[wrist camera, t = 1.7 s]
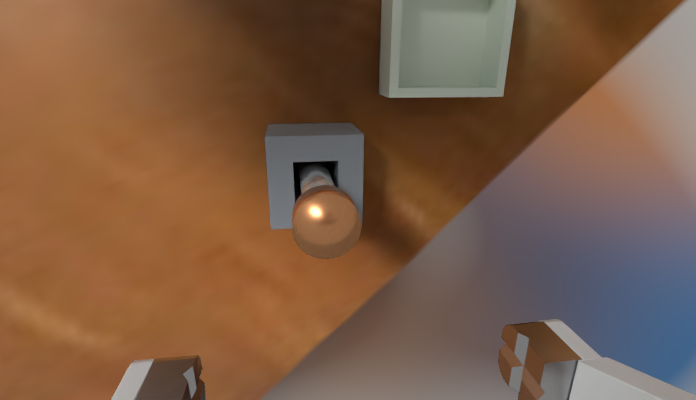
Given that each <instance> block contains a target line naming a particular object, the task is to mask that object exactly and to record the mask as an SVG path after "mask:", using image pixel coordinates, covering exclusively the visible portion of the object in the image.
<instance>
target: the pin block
mask: <svg viewBox="0 0 696 400" xmlns="http://www.w3.org/2000/svg"><path fill="white" fill-rule="evenodd" d="M265 150H266V165H267V179H268V193H269V208H270V222H271V229H287V228H292V211H293V207H294V205H295V202H296V201H297V199H298V198H299V197H300V196H301V195H302V193H301V184H300V182H294V173H293V162H315V161H330V176H331V178H332V181H333V183H334V186H335V187H338V188H340V189H342V190H344V191H345V192H346V193H347V194H348V195H349V196H350V197H351V198H352V200H353V202H354V204H355V206H356V208H357V210H358V212H359V215H360V217H361V224H362V220H363V165H364V134H363V133H362V132H361V131H360V130H359V129H358V128H357V127H356V126H354V125H353V124H352V123H296V124H268V127H267V130H266V134H265Z"/></svg>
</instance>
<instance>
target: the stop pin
mask: <svg viewBox="0 0 696 400" xmlns="http://www.w3.org/2000/svg"><path fill="white" fill-rule="evenodd" d="M298 167H299V176H300V184H301V193H302V195H301V196H300V197H299V198H298V199H297V201H296V202H295V205H294V207H293V211H292V230H293V236H294V239H295V241H296V243H297V245H298V246H299V247H300V248H301V249H302V250H303V251H304V252H305V253H307V254H308V255H310V256H313V257H316V258H321V259H330V258H335V257H338V256H341V255H343V254H345V253H346V252H348V251H349V250H350V249H351V248H352V247H353V246H354V245H355V244H356V242H357V241H358V239H359V236H360V233H361V227H362V224H361V217H360V215H359V212H358V210H357V208H356V206H355V204H354V202H353V200H352V198H351V197H350V196H349V195H348V194H347V193H346V192H345V191H344V190H342V189H340V188H338V187H335V186H334V183H333V181H332V178H331V176H330V173H329V170H328V168H327V165H326V163H325V161H315V162H298Z"/></svg>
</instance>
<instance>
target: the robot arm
mask: <svg viewBox="0 0 696 400" xmlns="http://www.w3.org/2000/svg"><path fill="white" fill-rule="evenodd" d="M502 339H503V340H504V341H505V345H504V346H503V347H502V348H501V349H500V351H499V360H498V362H499V367H500V372H501V374H502V376H503V378H504V380H505V382H506V383H507V385H508V386H509V387H510V388H512V389H514V390H515V391H517V392H519V396H518V400H696V396H695V395H692V394H690V393H688V392H686V391H683V390H681V389H679V388H676V387H674V386H672V385H670V384H668V383H665V382H663V381H661V380H658V379H656V378H654V377H651V376H649V375H647V374H645V373H642V372H640V371H638V370H635V369H633V368H631V367H629V366H626V365H624V364H622V363H619V362H617V361H615V360H612V359H610V358H608V357H605V358H602V357H601V356H600V355H598V354H597V353H596V352H595V351H594V350H593V349H592V348H590V346H589V345H587V344H586V343H585V342H584V341H583V340H582V339H581V338H580V337H579V336H578V335H577V334H575V333H574V332H573V331H572V330H571V329H570V328H569V327H568V326H567V325H566V324H564V323H563V322H562V321H560V320H558V319H550V320H543V321H539V322H529V323H520V324H509V325H505V327H504V329H503V332H502ZM201 371H202V364H201V359H200V357H199V356H198V355H195V356H182V357H168V358H157V359H147V360H135V361H134V362H132V363H131V364H130V365H129V367H128V369H127V371H126V373H125V375H124V377H123V378H122V380H121V382H120V384H119V386H118V388H117V390H116V391H115V393H114V395H113V397H112V399H111V400H206V390H205V383H204V382H203V381H202V380H201V379H200V375H201Z"/></svg>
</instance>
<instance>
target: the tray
mask: <svg viewBox="0 0 696 400" xmlns="http://www.w3.org/2000/svg"><path fill="white" fill-rule="evenodd" d="M515 6H516V0H382V2H381V35H380V68H379V94H380V95H382V96H385V97H388V98H424V97H503V94H504V87H505V79H506V72H507V65H508V57H509V50H510V43H511V35H512V28H513V21H514V13H515Z"/></svg>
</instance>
